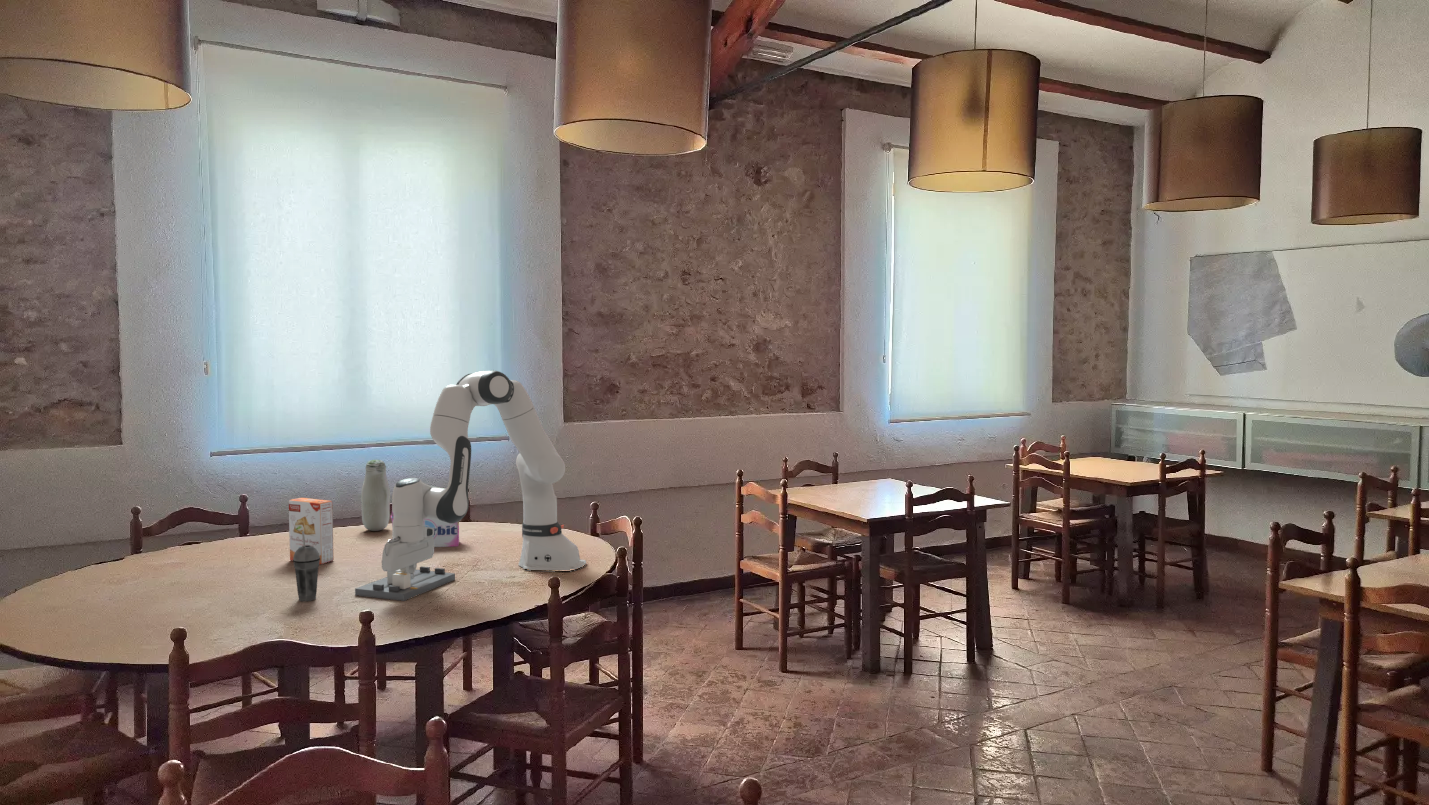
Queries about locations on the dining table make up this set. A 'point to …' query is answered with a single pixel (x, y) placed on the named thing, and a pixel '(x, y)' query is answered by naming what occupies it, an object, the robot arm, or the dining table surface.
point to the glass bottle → (375, 496)
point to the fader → (401, 580)
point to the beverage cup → (306, 571)
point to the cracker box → (311, 526)
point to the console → (419, 585)
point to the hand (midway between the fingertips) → (408, 579)
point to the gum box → (442, 532)
